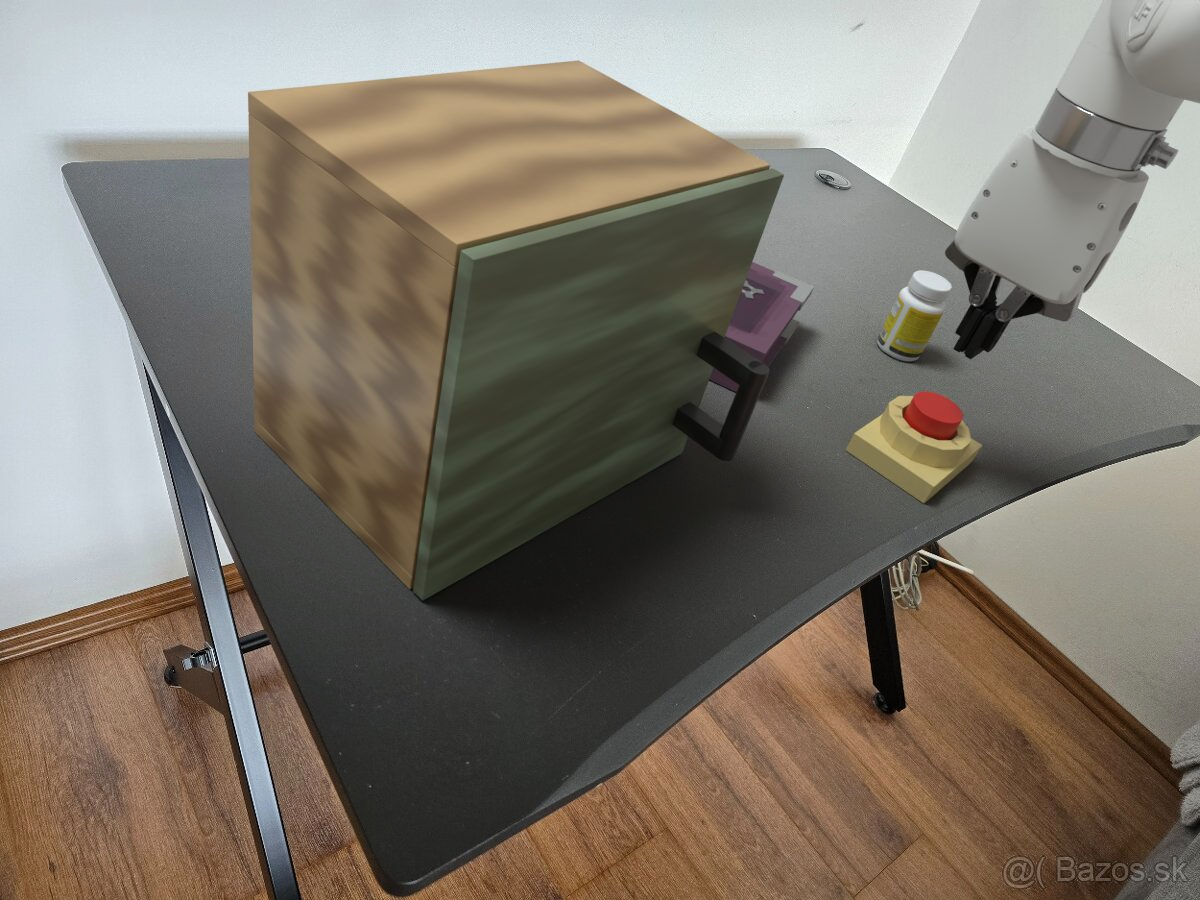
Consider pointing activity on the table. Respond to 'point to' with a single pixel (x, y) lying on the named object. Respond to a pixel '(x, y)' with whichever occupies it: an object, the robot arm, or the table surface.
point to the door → (586, 366)
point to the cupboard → (420, 250)
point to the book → (764, 316)
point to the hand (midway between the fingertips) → (968, 349)
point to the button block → (912, 452)
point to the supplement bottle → (914, 316)
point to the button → (933, 415)
